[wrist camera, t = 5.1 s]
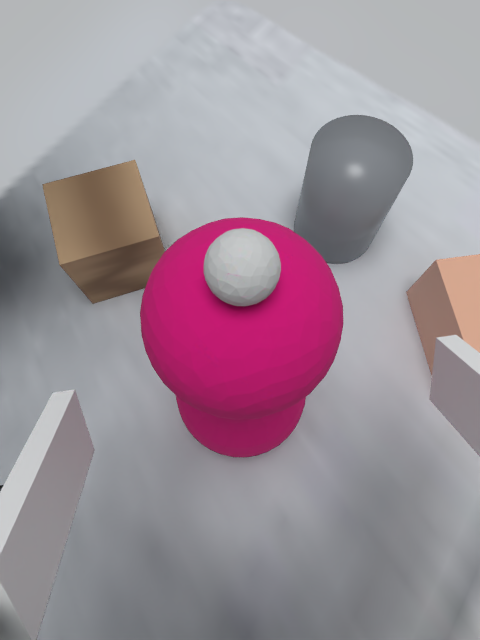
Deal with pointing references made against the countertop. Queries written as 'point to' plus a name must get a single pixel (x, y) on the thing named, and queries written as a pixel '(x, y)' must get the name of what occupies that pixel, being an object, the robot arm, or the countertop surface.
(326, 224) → the charcoal canister
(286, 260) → the pepper mill
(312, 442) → the countertop surface
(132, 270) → the walnut block
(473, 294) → the terracotta brick
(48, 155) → the countertop surface
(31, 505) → the robot arm
